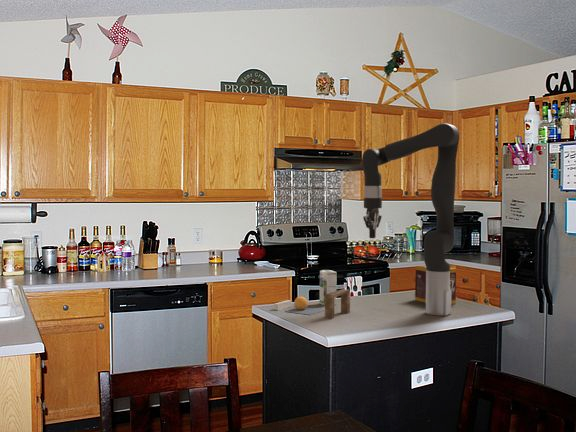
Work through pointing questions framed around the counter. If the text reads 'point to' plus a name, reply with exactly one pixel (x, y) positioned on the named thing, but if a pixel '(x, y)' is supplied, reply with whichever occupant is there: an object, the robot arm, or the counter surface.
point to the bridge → (330, 302)
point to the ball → (300, 303)
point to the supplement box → (421, 284)
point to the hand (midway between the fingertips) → (372, 238)
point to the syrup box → (327, 284)
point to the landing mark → (306, 311)
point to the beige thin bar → (283, 305)
